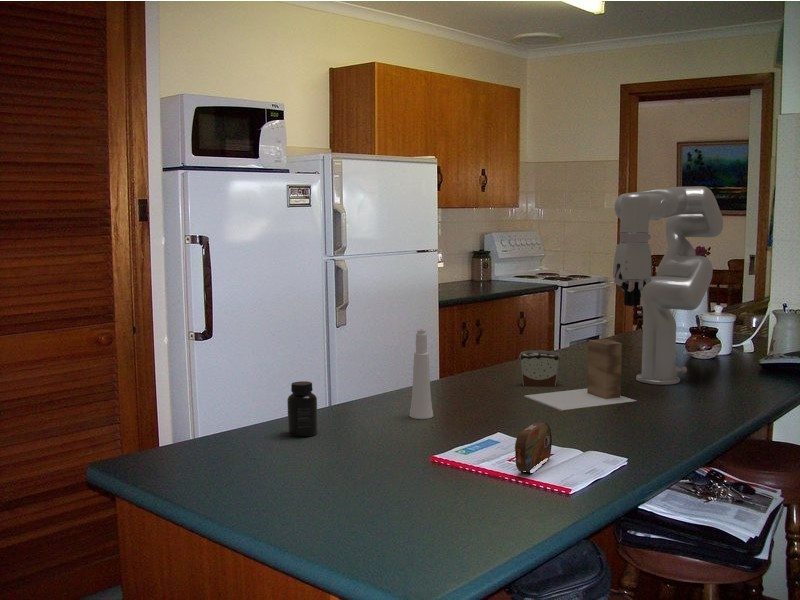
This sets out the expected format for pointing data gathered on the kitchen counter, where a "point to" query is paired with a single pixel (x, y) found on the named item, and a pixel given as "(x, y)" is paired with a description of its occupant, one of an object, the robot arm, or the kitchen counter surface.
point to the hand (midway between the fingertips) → (632, 304)
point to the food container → (539, 368)
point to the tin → (533, 446)
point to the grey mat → (574, 399)
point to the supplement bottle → (302, 410)
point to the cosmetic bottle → (421, 380)
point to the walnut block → (604, 368)
